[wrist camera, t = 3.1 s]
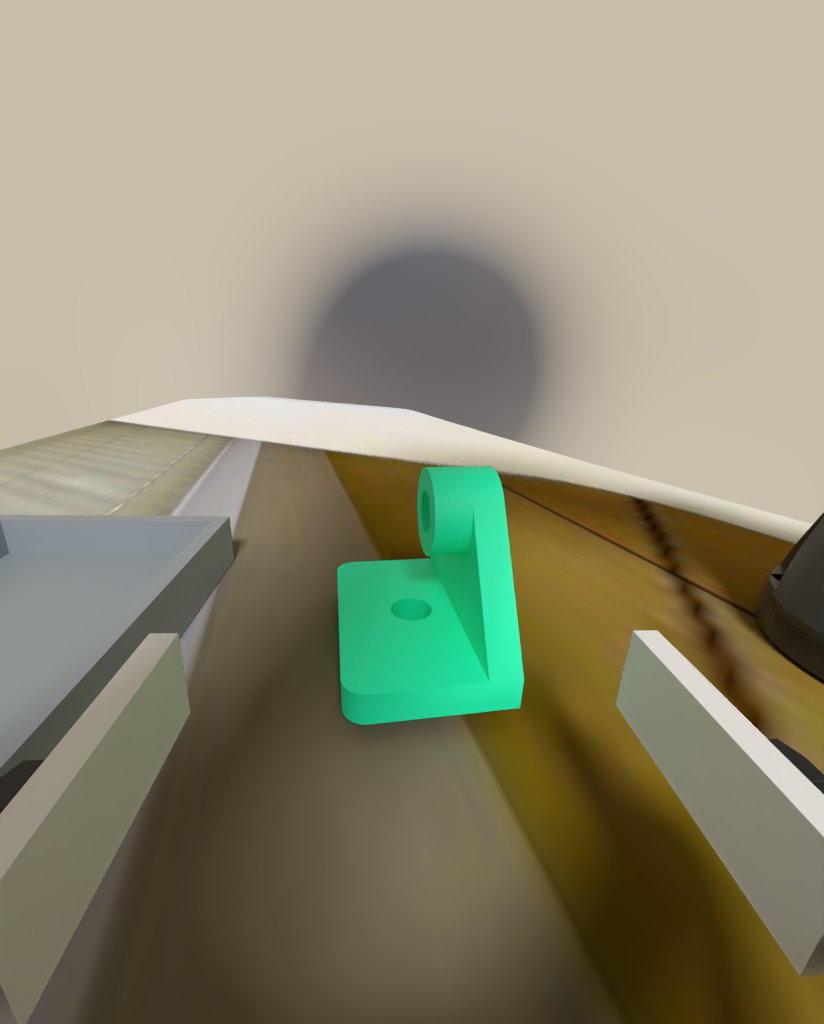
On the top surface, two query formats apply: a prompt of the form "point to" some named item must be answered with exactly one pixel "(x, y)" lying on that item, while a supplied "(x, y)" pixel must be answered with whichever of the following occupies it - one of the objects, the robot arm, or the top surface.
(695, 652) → the top surface
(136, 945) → the top surface
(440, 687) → the camera mount
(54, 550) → the tray
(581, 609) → the top surface
